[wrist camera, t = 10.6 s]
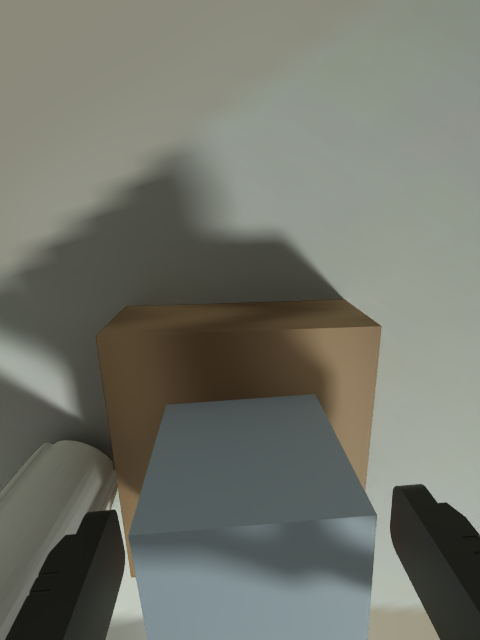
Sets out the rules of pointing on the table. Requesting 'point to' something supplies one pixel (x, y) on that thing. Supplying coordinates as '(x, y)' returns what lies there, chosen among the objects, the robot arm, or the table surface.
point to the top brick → (252, 526)
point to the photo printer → (46, 513)
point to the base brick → (233, 371)
